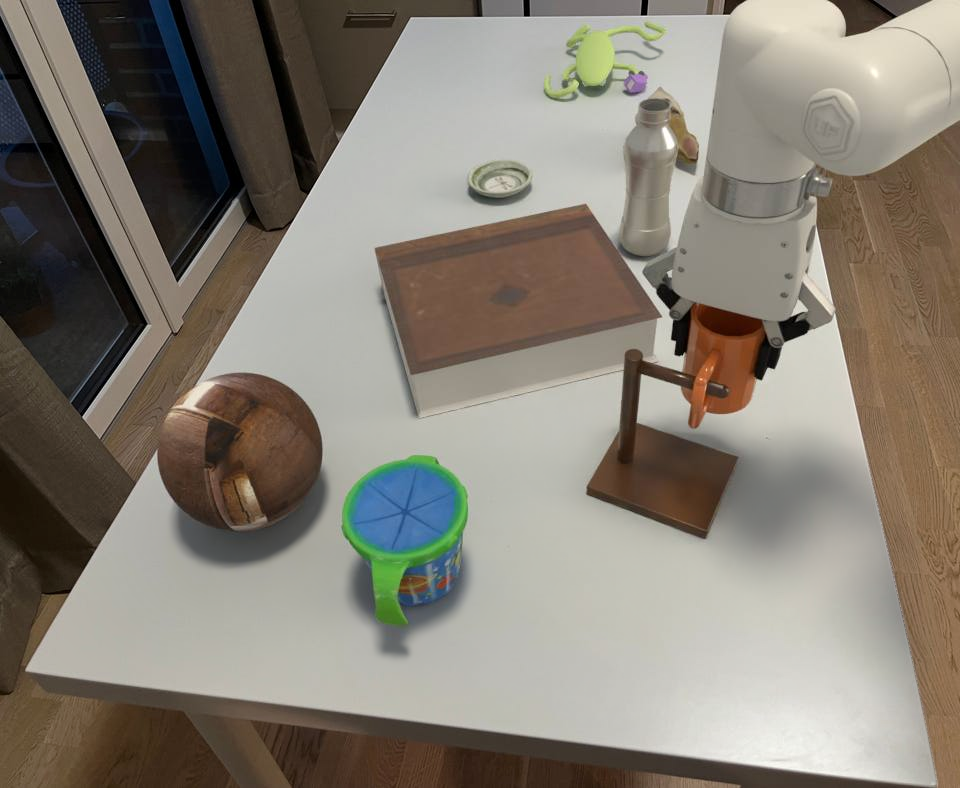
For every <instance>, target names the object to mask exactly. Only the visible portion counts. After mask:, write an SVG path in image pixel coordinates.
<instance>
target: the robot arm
mask: <svg viewBox="0 0 960 788" xmlns="http://www.w3.org/2000/svg"><path fill="white" fill-rule="evenodd" d="M846 31H847V23H846V19H845V17H844V14H843V12H842V11H841V9H839V7H838V6H836V4H835V3H833V2H831V1H829V0H745V1H743V2H742V3H740V4H738V5H737V6H736V7H735V8H734V9H733V10H732V11H731V13H730V14H729V16H728V18H727V19H726V22H725V25H724V27H723V33H722V38H721V46H720V53H719V59H718V67H717V74H716V80H715V81H716V83H715V90H714V97H713V105H712V111H711V117H710V118H711V119H710V127H709V135H708V141H707V142H708V143H707V149H706V156H705V162H704V171H703V176H701V177H699V179H698V180H697V181H696V184H695V186H694V188H693V191H692V193H691V195H690V198H689V201H688V204H687V207H686V209H685V214H684V217H683V220H682V225H681V229H680V231H679V237H678V241H677V245H676V246H675V247H674V248H672V249H670V250H668V251H667V252H664V253H662V254H660V255H659V256H656V257H654V258H653V259H650V260H648V261H647V263H646V264H645V266H644V267H643V269H642V271H641V273H642V275H643V277H644V278H645V279H646V280H647V282H648V283H649V284H650V285H651V287H652V288H653V289H655V293H656V296H657V297H658V298H659V299H660V300H661V302H662V303H663V305H665V307H666V308H667V309H668V310H669V312H668V317H669V318H671V319H672V327H671V335H670V341H673V342H675V345H674V352H673V353H674V354H673V355H674V356H677V357H678V358H679V357H681V356H683V357H684V355H685V347H686V340H687V333H688V326H689V319H690V312H691V308H692V307H693V305H694V303H695V302H697V303H701V304H704V305H708V306H712V307H715V308H719V309H723V310H727V311H731V312H734V313H738V314H742V315H746V316H750V317H754V318H758V319H762V322H763V325H764V328H765V331H766V334H767V335H766V337H765V339H764V341H763V343H762V345H761V349H760V353H759V357H758V362H757V366H756V370H755V375H754V377H756V379H757V381H762V382H763V380H764V378H765V375H766V373H767V371H768V369H771V370H773V371H774V370H776V368H777V365H778V363H779V360H780V357H781V353H782V349H783V346H784V345H785V343H787V342H790V341H793V340H794V339H797V338H800V337H802V336H803V337H804V336H805V335H807V334H808V332H809V331H812V330H816V329H818V328H820V327H823V326H825V325H827V324H830V323H831V322H832V321H833V318H834V317H835V313H836V311H837V308H836V307H835V305H834V304H833V303H832V302H831V301H830V299H829V298H828V297H827V296H826V295H825V293H824V292H823V291H822V289H820V288H819V286H818V285H817V284H816V282H814V281H813V279H812V278H811V277H810V276H809V272H810V266H811V261H812V256H813V251H814V250H813V249H814V245H815V240H816V239H815V238H816V231H817V229H816V228H817V218H818V217H817V216H818V200H817V197H818V196H819V197H822V198H823V197H824V198H828V196H829V194H830V191H831V188H832V185H833V181H834V178H831V177H827V176H826V177H825V176H824V174H820V173H819V169H818V168H816V166H819V167H820V168H822V169H824V170H826V171H829V172H831V173H833V174H836V175H840V176H845V177H846V176H847V177H859V176H860V177H861V176H867V175H870V174H873V173H877V172H879V171H881V170H883V169H885V168H886V167H889V166H890V165H891V164H893V163H895V162H896V161H898V160H899V159H901V158H903V157H904V156H906V155H908V154H909V153H910V152H912V151H914V150H915V149H917V148H919V147H920V146H921V145H923V144H924V143H926V142H928V141H929V140H931V139H932V138H933V137H935V136H937V135H938V134H940V133H941V132H943V131H944V130H946V129H948V128H949V127H951V126H953V125H954V124H956V123H957V122H960V0H930V1H928V2H926V3H924V4H922V5H919V6H917V7H916V8H913V9H911V10H910V11H907V12H904V13H903V14H900V15H898V16H897V17H895V18H893V19H890V20H888V21H887V22H885V23H882V24H881V25H879V26H877V27H875V28H873V29H871V30H869V31H866V32H861V33H859V34H858V33H857V34H853V35H848V36H846ZM669 272H671V277H670V276H669V274H668V273H669ZM798 301H800V303H802V305H803V306H804V307H805V308H806V309H807V311H801V312H798V313H796V314H794V315H792V314H793V312H794V309H795V308H796V305H797V304H798V303H797V302H798Z"/></svg>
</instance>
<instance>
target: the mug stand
mask: <svg viewBox="0 0 960 788" xmlns="http://www.w3.org/2000/svg"><path fill="white" fill-rule="evenodd" d="M622 371H623V373H622V386H621V402H620V412H619V413H620V415H619V425H618V427H619V429H618V431H617V433H616V434H615V437H614V439H613V440H612V442H611V444H610V445H609V446H608V449H607V451H606V453H605V454H604V456H603V457H602V459H601V460H600V463H598V464H599V465H598V466H597V468H596V470H595V471H594V473H593V475H592V477H591V478H590V480H589V482H588V484H587V485H586V494H587V495H589V496H591V497H594V498H596V499H599V500H602V501H605V502H608V503H610V504H613V505H616V506H618V507H620V508H623V509H626V510H629V511H631V512H633V513H636V514H639V515H641V516H644V517H647V518H649V519H651V520H655V521H658V522H661V523H662V524H666V525H668V526H671V527H673V528H676V529H678V530H681V531H683V532H686V533H689V534H692V535H694V536H697V537H699V538H702V539H707V537H708V535H709V532H710V530H711V527H712V525H713V523H714V520H715V518H716V516H717V513H718V511H719V509H720V507H721V505H722V501H723V500H724V497H725V495H726V493H727V490H728V489H729V486H730V484H731V481H732V479H733V476H734V474H735V472H736V470H737V467H738V464H739V461H740V456H738V455H735V454H732V453H729V452H726V451H723V450H720V449H717V448H714V447H711V446H709V445H704V444H702V443H700V442H696V441H692V440H690V439H687V438H683V437H681V436H678V435H675V434H672V433H669V432H666V431H663V430H660V429H657V428H653V427H651V426H647V425H645V424H642V423H639V422H638V415H639V414H638V413H639V402H640V395H641V394H640V393H641V382H642V375H643V376H646V377H650V378H652V379H656V380H659V381H663V382H666V383H669V384H672V385H674V386H678V387H681V386H682V387H685V388H688V389H692V390H693V387H694V381H695V378H696V377H697V376H694V375H690V374H687V373H683V372H682V371H680V370H677V369H673V368H670V367H667V366H663V365H660V364H657V363H654V362H653V363H650V362H647V361H643V353H642V352H641V351H640V350H637V349H630V350H627V351H626V352H625V357H624V370H622ZM705 394H708V395H711V396H714V397H718V398H722V399H723V398H726V397H727V396H728V395H729V388H728V387H727V386H726V385H724V384H720V383H717V382H714V381H710V380H709V381H708V383H707V386H706V392H705Z"/></svg>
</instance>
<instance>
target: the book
mask: <svg viewBox="0 0 960 788" xmlns="http://www.w3.org/2000/svg"><path fill="white" fill-rule="evenodd" d="M374 252H375V257H376V263H377V268H378V271H379V278H380V283H381V287H382V292H383V295H384V298H385V302H386V305H387V309H388V312H389V317H390V320H391V323H392V327H393V330H394V335H395V338H396V341H397V344H398V345H397V346H398V348H399V352H400V356H401V359H402V363H403V366H404V370H405V373H406V377H407V382H408V384H409V388H410V391H411V395H412V398H413V402H414V406H415V410H416V413H417V417H418V419H423V418H426V417H430V416H434V415H438V414H442V413H446V412H451V411H456V410H460V409H464V408H469V407H472V406H476V405H481V404H485V403H489V402H493V401H498V400H503V399H506V398H509V397H515V396H518V395H522V394H527V393H532V392H535V391H540V390H544V389H548V388H552V387H557V386H561V385H565V384H568V383H569V384H570V383H573V382H577V381H582V380H586V379H589V378H594V377H600V376H603V375H606V374H611V373H615V372H619V371H624V357H625V352H626V351H627V350H630V349H637V350H640V351H641V352H642V353H643V361H647V362H650V363H653V364H654V363H658V359H657V358H656V356H655V355H654V351H655V342H656V341H655V340H656V331H657V325H658V319H661V318H663V315H662V314H661V312H660V311H659V310H658V308H657V306H656V305H655V303H654V302H653V301H652V299H651V297H650V296H649V295H648V293H647V292H646V290H645V289H644V287H643V286H642V284H641V282H640V281H639V280H638V278H637V277H636V275H635V274H634V273H633V271H632V269H631V267H630V266H629V265H628V264H627V262H626V260H625V259H624V258H623V256H622V255H621V253H620V251H619V250H618V249H617V247H616V246H615V244H614V243H613V242H612V240H611V239H610V236H609V235H608V234H607V232H606V231H605V229H604V228H603V226H602V225H601V223H600V222H599V221H598V219H597V217H596V216H595V215H594V213H593V212H592V210H591V209H590V207H589V206H588V205H587V203H582V204H578V205H573V206H567V207H564V208H563V207H562V208H559V209H554V210H547V211H544V212H540V213H535V214H534V213H533V214H529V215H526V216H525V215H524V216H520V217H516V218H511V219H510V218H509V219H506V220H500V221H495V222H491V223H486V224H482V225H477V226H473V227H468V228H462V229H458V230H452V231H448V232H443V233H439V234H433V235H429V236H424V237H420V238H415V239H410V240H405V241H400V242H395V243H390V244H385V245H381V246H377V247H374Z"/></svg>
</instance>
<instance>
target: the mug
mask: <svg viewBox="0 0 960 788" xmlns="http://www.w3.org/2000/svg"><path fill="white" fill-rule="evenodd" d="M766 335H767V334H766V331H765V328H764V325H763V322H762V319H758V318H754V317H750V316H746V315H742V314H738V313H734V312H731V311H727V310H723V309H719V308H715V307H712V306H708V305H704V304H701V303H697V302H695V303H694V305H693V307H692V308H691V312H690V319H689V326H688V333H687V340H686V347H685V353H684V354H683V363H682V369H681V372H683V373H687V374H690V375H694V376H697V377H696V378H695V381H694V387H693V390H692V389H688V388H685V387H682V386H680V391H681V394H682V396H683V398H684V399H685V401H686V402H688V404H690V408H689V414H688V419H687V420H688V421H687V425H688V427H689V428H690V429H691V430H692V429H693V430H694V429H695V430H696V429H698V428H699V427H700V425H701V424H702V421H703V419H704V417H705V415H706V413H707V414H713V415H730V414H734V413H737V412H739V411H741V410H743V409H745V408H746V407H747V406H748V405H749V404H750V403H751V401H752V399H753V396H754V393H755V390H756V385H757V381H758V379H756V377H754V375H755V370H756V366H757V362H758V357H759V353H760V349H761V345H762V343H763V341H764V339H765V337H766ZM709 380H710V381H714V382H717V383H720V384H724V385H726V386H727V387H728V388H729V395H728V396H727V397H726V398H723V399H722V398H718V397H714V396H711V395H708V394H705V392H706V386H707V383H708V381H709Z"/></svg>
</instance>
